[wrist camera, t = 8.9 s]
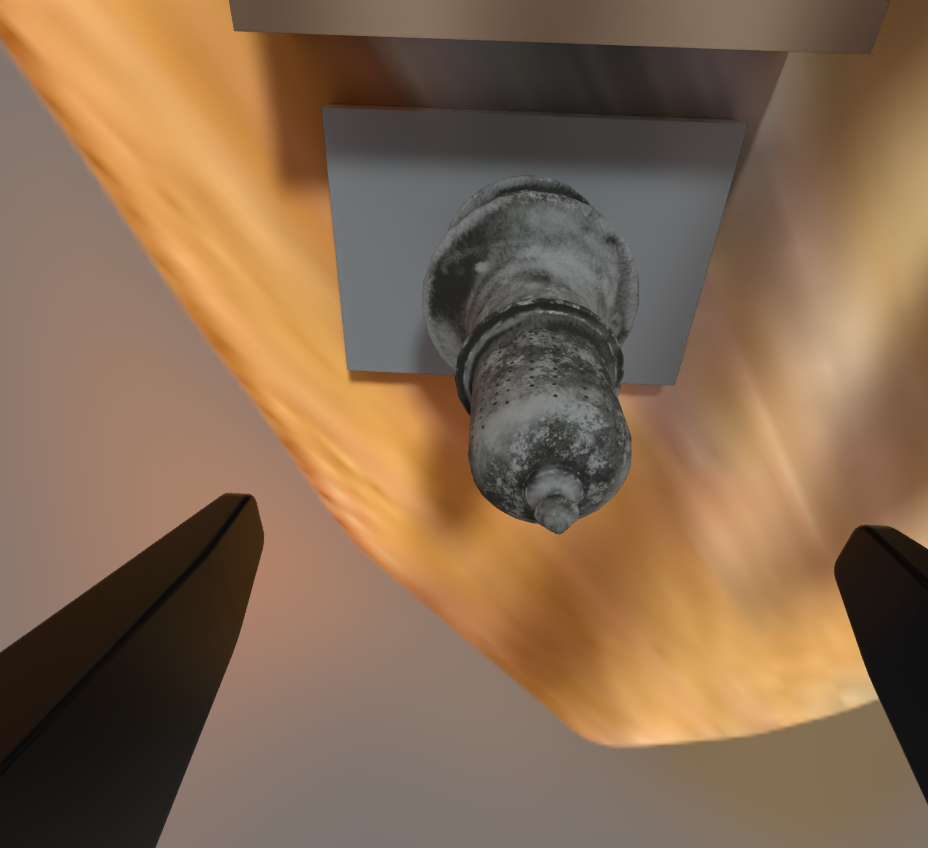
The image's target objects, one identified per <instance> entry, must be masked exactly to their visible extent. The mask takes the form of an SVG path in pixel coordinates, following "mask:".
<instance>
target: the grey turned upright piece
mask: <svg viewBox="0 0 928 848" xmlns="http://www.w3.org/2000/svg"><path fill="white" fill-rule="evenodd" d="M638 306H639V274H638V271H637V267H636V264H635V261H634V258H633V254H632V251H631V249H630V247H629V246H628V244H627V243H626V241H625V240H624V238H623V237H622V235H621V234H620V232H619V231H618V229H617V228H616V226H615V225H614V224H613V223H612V222H611V221H609V220H608V219H607V218H606V217H604V216H603V215H602V214H601V213H599V212H598V211H597V210H596V209H594V208H593V207H592V206H590V204H589V203H588V201H587V200H586V199H585V198H584V197H583V196H581V195H580V194H579V193H578V192H576V191H575V190H574V189H573V188H571V187H570V186H569V185H566V184H564V183H561V182H559V181H556V180H554V179H552V178H549V177H543V176H533V175H520V176H515V177H509V178H503V179H500V180H498V181H496V182H494V183H492V184H490V185H488V186H486V187H484V188H482V189H480V190H479V191H478V192H476V193H475V194H474V195H473V196H472V197H471V198H470V199H468V200H467V201H466V202H465V203H464V204H463V205H462V206H461V208H460V209H459V211H458V212H457V214H456V215H455V217H454V218H453V220H452V221H451V223H450V226H449V229H448V232H447V233H446V235H445V236H444V238H443V239H442V241H441V242H440V244H439V245H438V247H437V248H436V250H435V251H434V253H433V254H432V257H431V260H430V263H429V266H428V269H427V272H426V275H425V278H424V281H423V295H422V312H423V316H424V320H425V325H426V329H427V333H428V335H429V337H430V339H431V341H432V343H433V345H434V346H435V348H436V350H437V352H438V354H439V356H440V357H441V358H442V359H443V360H444V361H445V362H446V363H447V364H448V365H449V366H450V367H451V368H452V369H453V370H454V372H455V373H456V375H455V381H456V386H457V391H458V395H459V398H460V400H461V402H462V404H463V405H464V407H465V409H466V411H467V413H468V414H469V415H470V416H471V417H470V434H469V452H468V458H469V462H470V467H471V472H472V475H473V478H474V482H475V484H476V485H477V487H478V489H479V490H480V492H481V494H482V495H483V496H484V497H485V498H486V499H487V500H488V501H489V502H490V503H491V504H492V505H494V506H495V507H496V508H498V509H499V510H501V511H503V512H504V513H506V514H508V515H510V516H512V517H514V518H516V519H519V520H523V521H526V522H530V523H538V524H540V525H542V526H544V527H546V528H547V529H548V530H550V531H552V532H554V533H556V534H562V533H563V532H564V531H565V530H567V529H568V528H569V527H570V526H571V525H572V524H573V523H574V522H575V521H577V519H580V518H583V517H585V516H587V515H589V514H591V513H593V512H595V511H597V510H598V509H599V508H601V507H602V506H603V505H604V504H605V503H607V502H608V501H609V500H610V499H611V498H612V497H613V496H614V495H615V494H616V493H617V491H618V490H619V489H620V487H621V486H622V484H623V483H624V482H625V480H626V478H627V475H628V472H629V469H630V466H631V435H630V432H629V429H628V426H627V423H626V420H625V417H624V415H623V412H622V409H621V406H620V403H619V400H618V397H617V395H618V394H619V390H620V387H621V384H622V380H623V377H624V356H623V353H622V350H621V347H622V345H623V344H624V342H625V340H626V338H627V337H628V335H629V333H630V332H631V330H632V327H633V324H634V320H635V316H636V313H637V309H638Z"/></svg>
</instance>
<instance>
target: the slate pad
mask: <svg viewBox="0 0 928 848" xmlns="http://www.w3.org/2000/svg"><path fill="white" fill-rule="evenodd" d="M321 110H322V120H323V130H324V140H325V150H326V160H327V170H328V180H329V190H330V200H331V210H332V220H333V230H334V240H335V250H336V260H337V270H338V280H339V290H340V300H341V310H342V320H343V330H344V341H345V351H346V361H347V370H354V371H375V372H396V373H417V374H438V375H456V373H455V372H454V370H453V369H452V368H451V367H450V366H449V365H448V364H447V363H446V362H445V361H444V360H443V359H442V358H441V357H440V356H439V354H438V352H437V350H436V348H435V346H434V345H433V343H432V341H431V339H430V337H429V335H428V333H427V329H426V325H425V320H424V316H423V312H422V295H423V281H424V278H425V275H426V272H427V269H428V266H429V263H430V260H431V257H432V254H433V253H434V251H435V250H436V248H437V247H438V245H439V244H440V242H441V241H442V239H443V238H444V236H445V235H446V233H447V232H448V229H449V226H450V223H451V221H452V220H453V218H454V217H455V215H456V214H457V212H458V211H459V209H460V208H461V206H462V205H463V204H464V203H465V202H466V201H467V200H468V199H470V198H471V197H472V196H473V195H474V194H475V193H476V192H478V191H479V190H480V189H482V188H484V187H486V186H488V185H490V184H492V183H494V182H496V181H498V180H500V179H503V178H509V177H515V176H520V175H533V176H543V177H549V178H552V179H554V180H556V181H559V182H561V183H564V184H566V185H569V186H570V187H571V188H573V189H574V190H575V191H576V192H578V193H579V194H580V195H581V196H583V197H584V198H585V199H586V200H587V201H588V203H589V204H590V206H592V207H593V208H594V209H596V210H597V211H598V212H599V213H601V214H602V215H603V216H604V217H606V218H607V219H608V220H609V221H611V222H612V223H613V224H614V225H615V226H616V228H617V229H618V231H619V232H620V234H621V235H622V237H623V238H624V240H625V241H626V243H627V244H628V246H629V247H630V249H631V251H632V254H633V258H634V261H635V264H636V267H637V271H638V274H639V306H638V309H637V313H636V316H635V320H634V324H633V327H632V330H631V332H630V333H629V335H628V337H627V338H626V340H625V342H624V344H623V345H622V347H621V350H622V353H623V356H624V377H623V380H622V383H628V384H649V385H670V386H675V382H676V379H677V375H678V372H679V368H680V365H681V361H682V357H683V354H684V350H685V347H686V343H687V340H688V336H689V332H690V329H691V325H692V322H693V318H694V315H695V311H696V308H697V304H698V300H699V297H700V293H701V290H702V286H703V283H704V279H705V275H706V272H707V268H708V265H709V261H710V258H711V254H712V251H713V247H714V243H715V240H716V236H717V233H718V229H719V226H720V222H721V218H722V215H723V211H724V208H725V204H726V201H727V197H728V194H729V190H730V186H731V183H732V179H733V176H734V172H735V169H736V165H737V161H738V158H739V154H740V151H741V147H742V144H743V140H744V137H745V133H746V129H747V126H748V124H746V123H743V122H740V121H737V120H729V119H703V118H677V117H651V116H626V115H600V114H574V113H549V112H523V111H497V110H472V109H446V108H420V107H394V106H369V105H343V104H329V105H326V106H324V107H322V108H321Z"/></svg>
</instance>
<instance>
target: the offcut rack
mask: <svg viewBox="0 0 928 848" xmlns="http://www.w3.org/2000/svg"><path fill="white" fill-rule="evenodd" d="M889 2H890V0H229V3H230V9H231V15H232V21H233V27H234V31H245V32H272V33H299V34H327V35H354V36H381V37H408V38H436V39H463V40H490V41H517V42H545V43H572V44H599V45H627V46H654V47H681V48H708V49H736V50H763V51H790V52H817V53H845V54H870V53H871V51H872V48H873V45H874V42H875V40H876V37H877V34H878V32H879V29H880V26H881V23H882V21H883V18H884V15H885V13H886V10H887V7H888V4H889Z"/></svg>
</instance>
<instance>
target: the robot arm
mask: <svg viewBox="0 0 928 848" xmlns="http://www.w3.org/2000/svg"><path fill="white" fill-rule="evenodd" d="M263 545H264V531H263V527H262V523H261V519H260V515H259V510H258V506H257V502H256V500H255V498H254V496H252V495H250V494H242V493H226V494H223V495H222V496H220V497H218V498H217V499H216V500H214V501H213V502H211V503H210V504H209V505H207V506H206V507H205V508H203V509H201V510H200V511H199V512H197V513H196V514H194V515H193V516H192V517H190V518H189V519H187V520H186V521H185V522H183V523H182V524H180V525H179V526H178V527H176V528H175V529H173V530H172V531H170V532H169V533H168V534H166V535H165V536H163V537H162V538H161V539H159V540H158V541H156V542H155V543H154V544H152V545H151V546H149V547H148V548H147V549H145V550H144V551H142V552H141V553H139V554H138V555H137V556H135V557H134V558H132V559H131V560H130V561H128V562H127V563H125V565H123V566H121V567H120V568H118V569H117V570H116V571H114V572H113V573H111V574H110V575H108V576H107V577H106V578H104V579H103V580H101V581H100V582H99V583H97V584H96V585H94V586H93V587H92V588H90V589H89V590H88V591H86V592H85V593H83V594H82V595H80V596H79V597H78V598H76V599H75V600H74V601H72V602H70V603H69V604H68V605H66V606H65V607H63V608H62V609H61V610H59V611H58V612H56V613H55V614H54V615H52V616H51V617H49V618H48V619H47V620H45V621H44V622H42V623H41V624H40V625H38V626H37V627H35V628H34V629H32V630H31V631H30V632H28V633H27V634H25V635H24V636H23V637H21V638H20V639H19V640H17V641H16V642H14V643H13V644H11V645H10V646H8V647H7V648H6V649H4V650H3V651H2V652H0V848H155V847H156V845H157V843H158V840H159V838H160V835H161V833H162V830H163V828H164V825H165V823H166V820H167V817H168V815H169V813H170V810H171V808H172V805H173V803H174V800H175V797H176V795H177V792H178V790H179V787H180V785H181V782H182V780H183V777H184V775H185V772H186V770H187V767H188V764H189V762H190V760H191V757H192V754H193V752H194V750H195V747H196V745H197V742H198V740H199V737H200V735H201V732H202V730H203V727H204V724H205V722H206V719H207V717H208V714H209V712H210V709H211V707H212V704H213V702H214V699H215V697H216V694H217V692H218V689H219V687H220V684H221V682H222V679H223V676H224V674H225V672H226V669H227V667H228V664H229V662H230V659H231V657H232V654H233V651H234V648H235V646H236V643H237V640H238V637H239V634H240V630H241V627H242V623H243V620H244V616H245V612H246V609H247V605H248V601H249V598H250V594H251V590H252V586H253V582H254V579H255V575H256V572H257V568H258V565H259V561H260V557H261V554H262V550H263ZM834 574H835V579H836V582H837V585H838V588H839V591H840V594H841V597H842V600H843V603H844V606H845V609H846V612H847V615H848V618H849V621H850V623H851V626H852V629H853V632H854V635H855V638H856V641H857V644H858V647H859V650H860V653H861V656H862V659H863V661H864V664H865V667H866V669H867V672H868V675H869V677H870V679H871V682H872V684H873V686H874V689H875V691H876V693H877V695H878V698H879V700H880V702H881V704H882V706H883V708H884V710H885V713H886V715H887V717H888V719H889V721H890V724H891V726H892V728H893V730H894V732H895V734H896V737H897V739H898V741H899V743H900V745H901V748H902V750H903V752H904V754H905V756H906V758H907V761H908V763H909V765H910V767H911V769H912V772H913V774H914V776H915V778H916V780H917V782H918V784H919V787H920V789H921V791H922V793H923V795H924V798H925V800H926V802H927V804H928V549H927V548H925V547H924V546H922V545H921V544H919V543H917V542H916V541H914V540H912V539H911V538H909V537H908V536H906V535H904V534H903V533H901V532H900V531H898V530H896V529H894V528H892V527H889V526H879V525H861V526H859V527H857V528H856V529H855V530H854V531H853V533H852V534H851V536H850V538H849V539H848V541H847V543H846V544H845V546H844V548H843V550H842V551H841V553H840V555H839V556H838V558H837V560H836V562H835V566H834Z"/></svg>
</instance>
